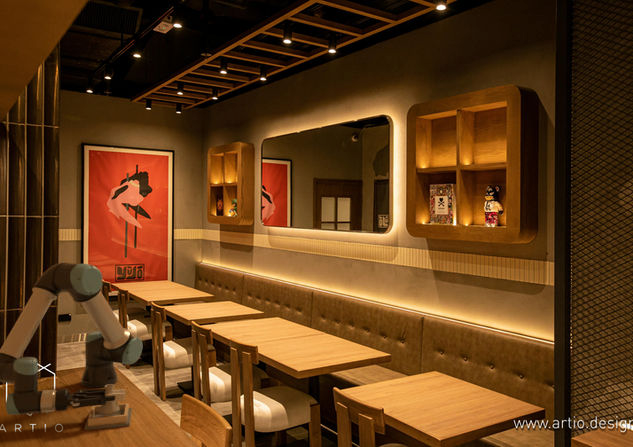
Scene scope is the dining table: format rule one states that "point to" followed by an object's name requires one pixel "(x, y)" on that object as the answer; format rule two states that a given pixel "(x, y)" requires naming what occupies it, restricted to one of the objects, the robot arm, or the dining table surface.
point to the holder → (109, 418)
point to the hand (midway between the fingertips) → (124, 394)
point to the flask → (109, 403)
